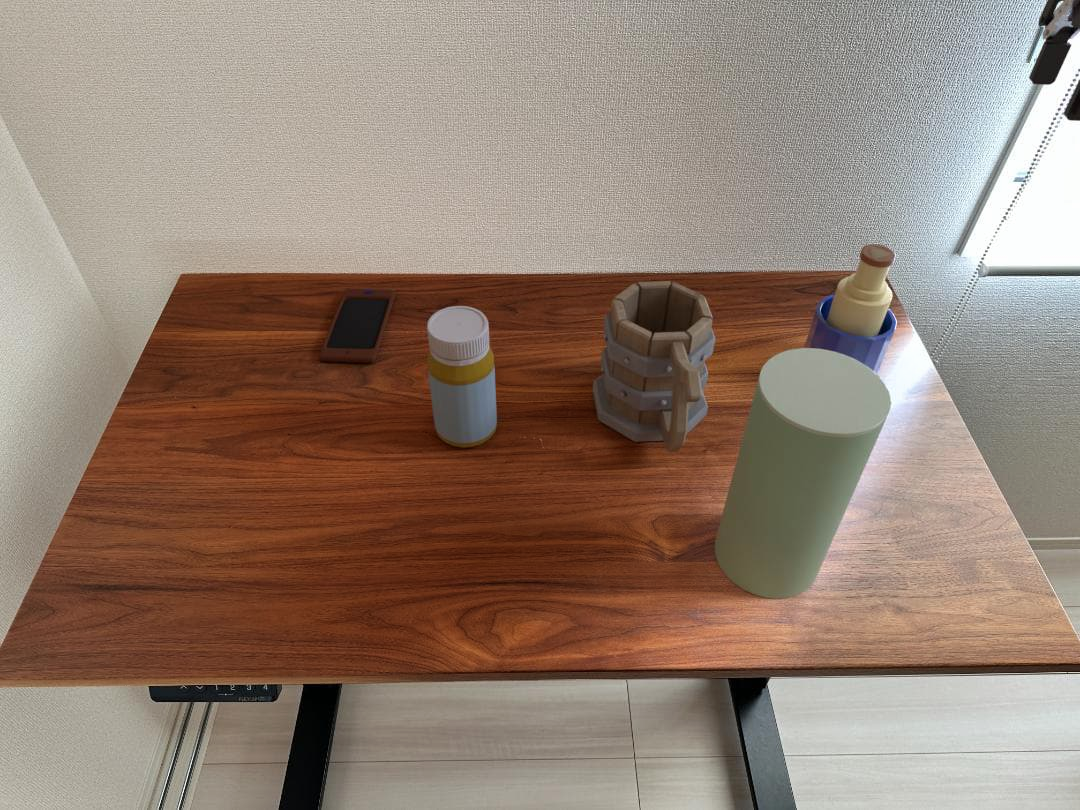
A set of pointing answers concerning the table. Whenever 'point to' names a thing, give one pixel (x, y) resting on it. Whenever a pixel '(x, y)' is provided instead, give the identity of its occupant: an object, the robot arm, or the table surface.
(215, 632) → the table surface
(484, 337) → the bottle
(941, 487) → the table surface
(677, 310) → the tankard
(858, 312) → the cream bottle
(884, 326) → the blue cup
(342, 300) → the smartphone
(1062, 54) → the robot arm
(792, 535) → the green stand
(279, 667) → the table surface
